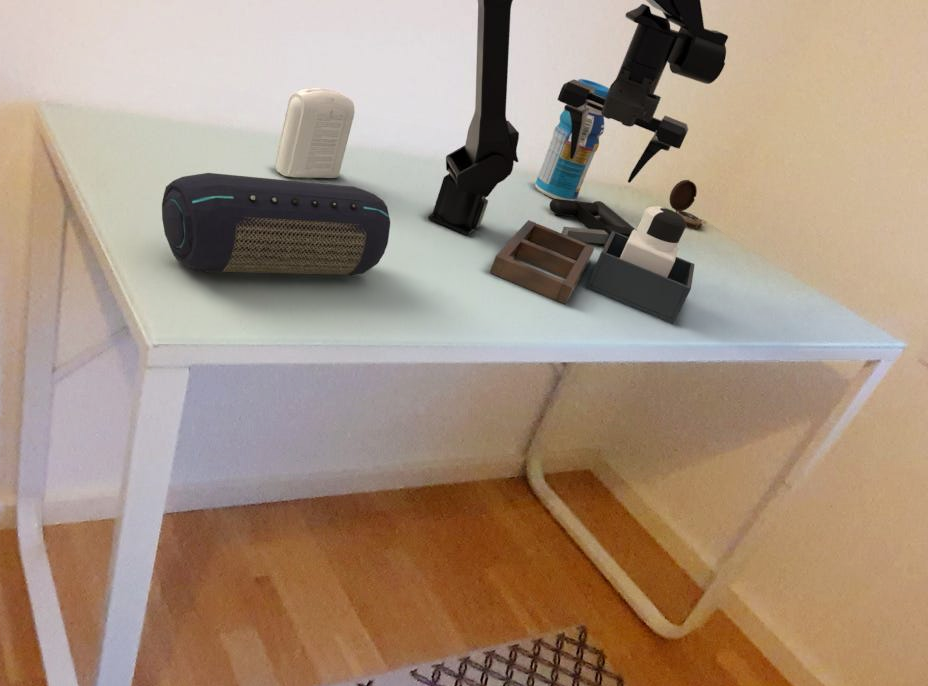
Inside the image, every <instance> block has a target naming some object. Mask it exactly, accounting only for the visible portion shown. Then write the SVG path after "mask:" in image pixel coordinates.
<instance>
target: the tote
mask: <svg viewBox="0 0 928 686" xmlns="http://www.w3.org/2000/svg"><path fill="white" fill-rule="evenodd" d="M628 239H629V237H627V236H624V235H622V234H619V233H617V232H614V231H612V232H611V234H610V236H609V238H608V240H607V242H606V244H605V246H603V248H602V250H601V252H600V254H599V256H598V259H597V261H596V264H595V266H594V268H593V271H592V272H591V275H590V277H589V280H588V282H587V284H586V287H585V288H586V289H588V290H591V291H593V292H595V293H597V294H599V295H603V296H605V297H608V298H610V299H612V300H615V301H617V302H620V303H622V304H625V305H627V306H629V307H632V308H634V309H637V310H639V311H641V312H644V313H646V314H649V315H651V316H653V317H656V318H657V319H661V320H663V321H666V322H667V323H670V324H672V325H674V324H675V323H676V320H677V318H678V316H679V314H680V312H681V310H682V308H683V306H684V304H685V302H686V300H687V298H688V296H689V294H690V292H691V290H692V285H693V278H694V271H695V263H693V262H691V261H689V260H685V259H683V258H681V257H678V256H676V259H675V262H674V264H673V267H672V269H671V271H670V273H669V275H668V277H664V276H662V275H659V274H657V273H654V272H652V271H649V270H647V269H645V268H642V267H640V266H637V265H635V264H632V263H630V262H627V261H625V260H623V259H620V257H621V254H622V252H623V250H624V248H625V245H626V243H627V241H628Z"/></svg>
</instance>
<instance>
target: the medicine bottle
mask: <svg viewBox="0 0 928 686" xmlns="http://www.w3.org/2000/svg"><path fill="white" fill-rule="evenodd" d="M687 227H688V226H687V224H686V221H685V220H684V219H683V217H682V216H681V215H679V214H678V213H676V211H674V210H672V209H670V208H667V207H663V206H659V205H651V206H649V207H647V208H646V209H645V211H644V213H643V215H642V217H641V220H640V222H639V224H638V227H637V228H636V230H633V231H632V233H631V235H630V237H629V239H628V241H627V243H626V245H625V248H624V250H623V252H622V254H621V257H620V259H623V260H625V261H627V262H630V263H632V264H635V265H637V266H640V267H642V268H645V269H647V270H649V271H652V272H654V273H657V274H659V275H662V276H664V277H668V275H669V273H670V271H671V269H672V267H673V264H674V262H675V259H676V257H677V255H678V252H679V247H678V245H679V242H680V240H681V238H682V236H683V234H684V231H685V229H686V228H687Z"/></svg>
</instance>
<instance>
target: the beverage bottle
mask: <svg viewBox="0 0 928 686" xmlns="http://www.w3.org/2000/svg"><path fill="white" fill-rule="evenodd" d="M577 81H580V82H582V83H585V84H587V85H590V86H592V87H595V90H594V94H596V95H599V96H601V97H604V98H606V96H607V94H608V91H609V89H610V87H608V86H606V85H603V84H601V83H598V82H595V81H592V80H589V79H584V78H579V79H578V80H577ZM587 108H588V109H589V112H588V116H587V119H586V123H585V126H584V129H583V133H582V136H581V139H580V143H579V146H578V149H577V151H576V154H575V156H574V158H573V159H570V150H571V136H572V126H571V117H570V113H569V112H568V111H566V110H565V109H564V108H563V110H562V112H561V113H560V115H559V122H558V124H557V125H556V126H555V127H554V129H553V132H552V137H551V140H550V142H549V146H548V148H547V151H546V153H545V157H544V158H543V159H544V160H543V162H542V165H541V168H540V171H539V173H538V176H537V177H536V180H535V184H534V186H535V188H536V189H537V191H539V193H542V194H544V195H545V196H547V197H549V198H552V199H561V200H571V201H577V199H578V196H579V194H580V191H581V188H582V186H583V183H584V180H585V178H586V176H587V173H588V171H589V168H590V166H591V163H592V161H593V159H594V157H595V154H596V152H597V150H598V149H599V147H600V137H601V136H602V135H603V133H604V132H605V117H604V116H602V114H601V112H602V111H600V110H597V109H595V108H592V107H590V106H588V107H587Z"/></svg>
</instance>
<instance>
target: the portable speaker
mask: <svg viewBox="0 0 928 686" xmlns="http://www.w3.org/2000/svg"><path fill="white" fill-rule="evenodd" d="M161 219H162V220H161V221H162V227H163V232H164V236H165V238H166V240H167V243H168V245H169V248H170V250H171V252H172V255H173V257H174V258H175V260H177V261H178V262H179V263H181V264H182V265H185V266H187V267H189V268H191V269H195V271H199V272H204V273H205V272H206V273H244V274H245V273H248V274H249V273H250V274H252V273H253V274H285V275H287V274H289V275H325V276H327V275H330V276H331V275H332V276H349V277H351V276H357V275H362V274H365V273H366V272H368V271H370V270H371V269H372V268H374V267H375V266H377V265H378V264H379V263H380V261H381V259H382V257H383V256H384V254H385V253H386V250H387V247H388V244H389V236H390V229H391V218H390V214H389V208H388V205H387V204H386V202H385V201H384V200H383V199H382V198H381V197H379V196H378V195H376V194H375V193H373V192H370V191H367V190H366V189H362V188H359V187H356V186H351V185H340V184H331V183H321V182H309V181H299V180H288V179H277V178H266V177H257V176H246V175H237V174H236V175H235V174H227V173H225V174H224V173H216V172H215V173H214V172H204V173H197V174H191V175H185V176H181V177H179V178H176V179H174V180H172V181H171V182H170V183H168V185H166V186H165V189H164V192H163V196H162V202H161Z"/></svg>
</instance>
